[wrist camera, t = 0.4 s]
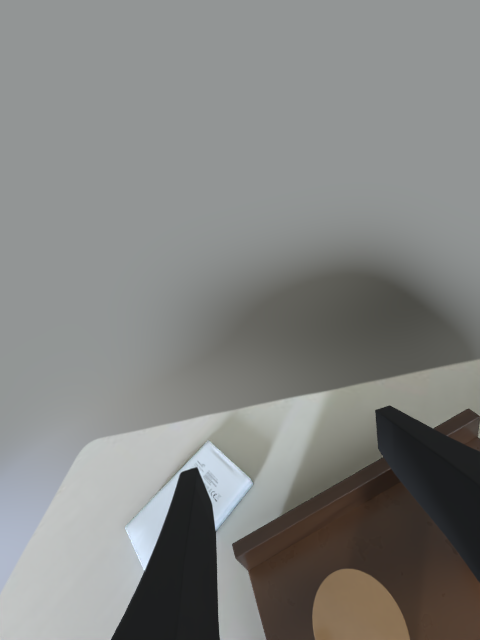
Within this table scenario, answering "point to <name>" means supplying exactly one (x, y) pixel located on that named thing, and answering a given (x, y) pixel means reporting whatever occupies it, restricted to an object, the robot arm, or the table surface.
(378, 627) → the sage jar
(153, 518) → the hard drive
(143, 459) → the table surface
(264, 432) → the table surface
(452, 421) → the spice shelf
